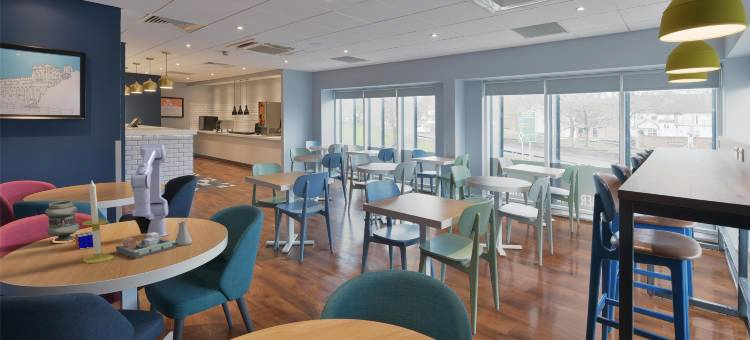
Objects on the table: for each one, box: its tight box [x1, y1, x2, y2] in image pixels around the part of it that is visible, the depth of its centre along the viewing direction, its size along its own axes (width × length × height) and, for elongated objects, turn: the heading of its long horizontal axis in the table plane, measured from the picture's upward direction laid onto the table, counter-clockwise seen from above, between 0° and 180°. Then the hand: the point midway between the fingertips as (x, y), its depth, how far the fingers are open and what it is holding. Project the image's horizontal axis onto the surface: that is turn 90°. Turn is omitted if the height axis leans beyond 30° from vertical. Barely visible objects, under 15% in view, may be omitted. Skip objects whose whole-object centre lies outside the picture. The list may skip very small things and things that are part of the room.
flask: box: [174, 221, 193, 246], centre depth 183 cm, size 7×7×10 cm
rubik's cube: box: [74, 231, 94, 250], centre depth 178 cm, size 6×6×6 cm
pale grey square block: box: [146, 232, 160, 243], centre depth 180 cm, size 4×3×4 cm
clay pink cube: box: [122, 237, 137, 249], centre depth 172 cm, size 4×3×4 cm
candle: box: [82, 180, 114, 264], centre depth 161 cm, size 10×10×32 cm
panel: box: [115, 237, 177, 260], centre depth 175 cm, size 16×17×3 cm
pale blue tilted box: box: [144, 238, 157, 247], centre depth 172 cm, size 4×3×4 cm
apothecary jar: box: [44, 200, 81, 241], centre depth 185 cm, size 12×12×18 cm
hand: (144, 233), depth 175 cm, fingers closed
